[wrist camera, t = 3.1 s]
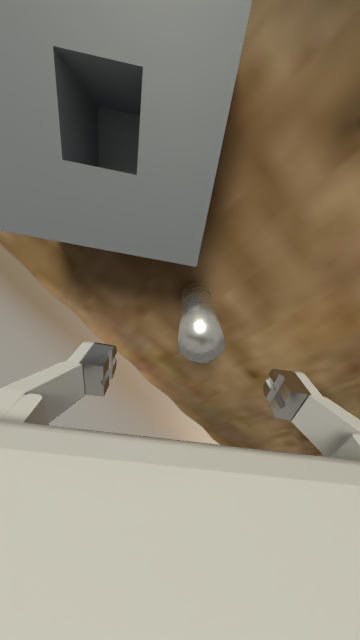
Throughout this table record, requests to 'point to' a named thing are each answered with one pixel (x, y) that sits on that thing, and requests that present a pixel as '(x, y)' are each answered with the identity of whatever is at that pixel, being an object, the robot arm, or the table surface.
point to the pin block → (115, 119)
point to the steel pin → (199, 325)
